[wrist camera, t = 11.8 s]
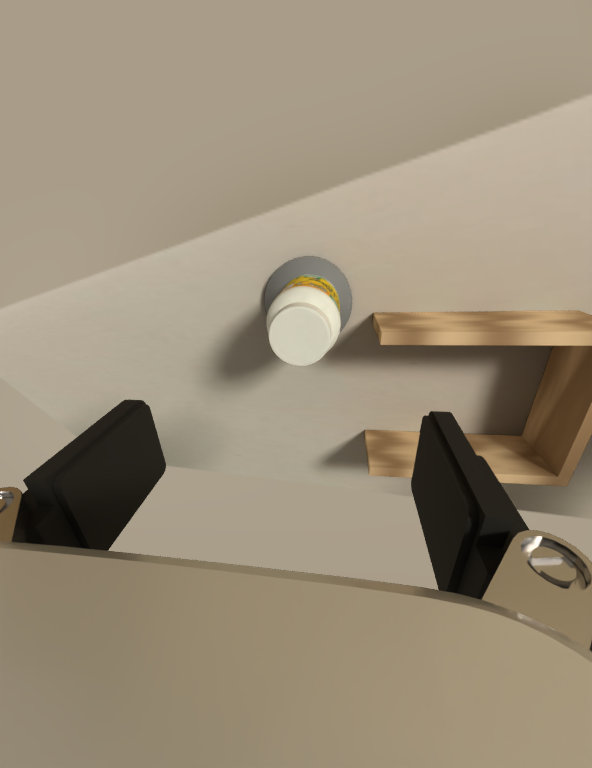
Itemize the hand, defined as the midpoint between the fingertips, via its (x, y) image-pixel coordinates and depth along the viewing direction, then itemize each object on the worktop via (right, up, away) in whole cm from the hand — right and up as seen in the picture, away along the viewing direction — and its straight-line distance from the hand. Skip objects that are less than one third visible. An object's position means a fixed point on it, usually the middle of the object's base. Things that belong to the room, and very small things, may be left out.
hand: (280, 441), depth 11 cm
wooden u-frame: (+16, +2, +20) cm, 25 cm away
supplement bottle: (+2, +9, +18) cm, 20 cm away
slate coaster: (+2, +10, +18) cm, 20 cm away
